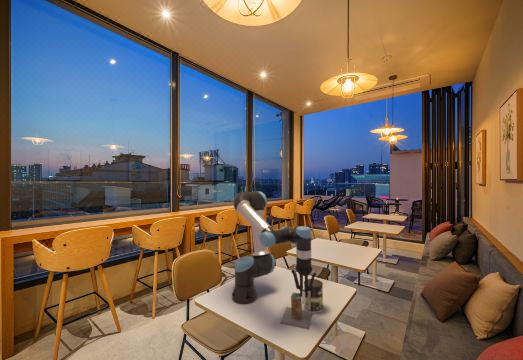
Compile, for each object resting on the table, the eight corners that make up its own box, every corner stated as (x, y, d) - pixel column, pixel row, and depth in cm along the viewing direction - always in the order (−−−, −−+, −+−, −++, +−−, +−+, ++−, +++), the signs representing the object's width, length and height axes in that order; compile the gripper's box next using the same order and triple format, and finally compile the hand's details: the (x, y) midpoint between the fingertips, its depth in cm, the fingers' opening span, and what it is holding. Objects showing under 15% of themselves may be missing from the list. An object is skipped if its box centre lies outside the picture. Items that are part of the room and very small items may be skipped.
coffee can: (325, 306, 130) (325, 281, 130) (319, 315, 122) (319, 288, 122) (308, 300, 136) (308, 277, 136) (301, 309, 127) (301, 283, 127)
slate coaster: (280, 323, 115) (280, 321, 115) (286, 308, 128) (286, 306, 128) (308, 329, 111) (308, 327, 111) (312, 313, 124) (312, 311, 124)
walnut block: (291, 318, 118) (290, 296, 118) (293, 313, 122) (292, 292, 122) (300, 319, 116) (299, 297, 117) (301, 314, 121) (301, 293, 121)
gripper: (289, 258, 117) (290, 304, 117) (315, 261, 113) (316, 309, 113) (292, 253, 124) (292, 297, 124) (317, 256, 120) (317, 301, 120)
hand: (304, 303), depth 118 cm, fingers closed
